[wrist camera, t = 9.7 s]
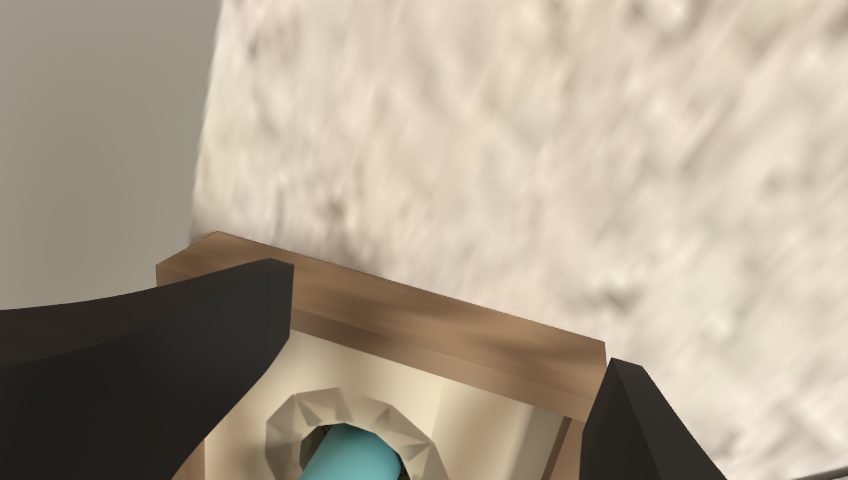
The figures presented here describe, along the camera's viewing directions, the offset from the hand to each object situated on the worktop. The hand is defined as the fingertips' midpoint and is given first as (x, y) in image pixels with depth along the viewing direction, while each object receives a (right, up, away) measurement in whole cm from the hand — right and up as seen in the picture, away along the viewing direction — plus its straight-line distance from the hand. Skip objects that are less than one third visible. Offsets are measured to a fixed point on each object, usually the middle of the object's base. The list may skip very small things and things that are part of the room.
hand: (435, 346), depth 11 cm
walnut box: (-3, -8, +15) cm, 17 cm away
